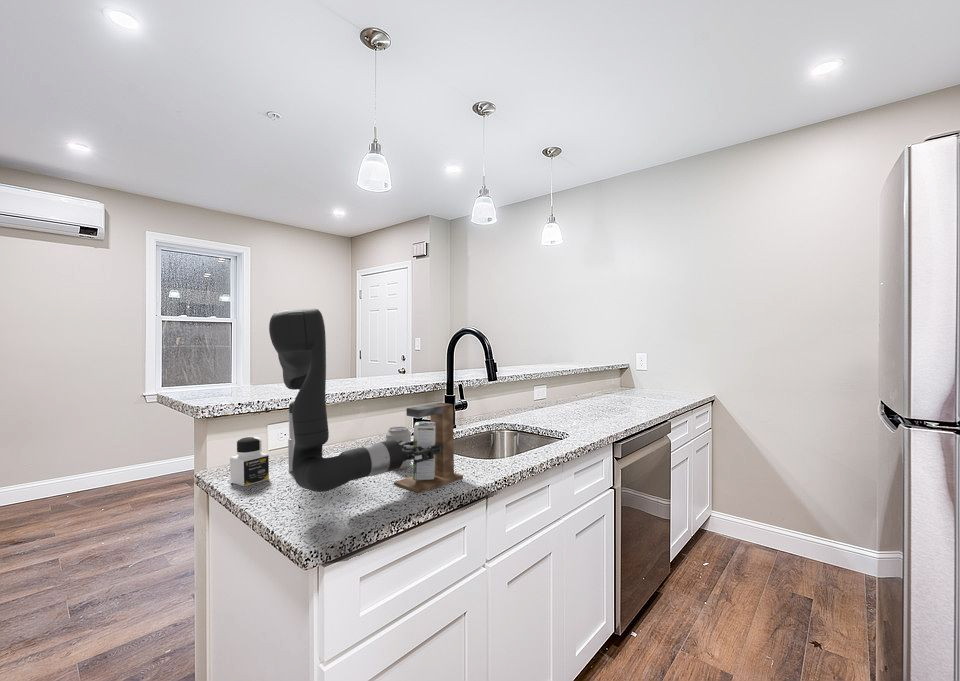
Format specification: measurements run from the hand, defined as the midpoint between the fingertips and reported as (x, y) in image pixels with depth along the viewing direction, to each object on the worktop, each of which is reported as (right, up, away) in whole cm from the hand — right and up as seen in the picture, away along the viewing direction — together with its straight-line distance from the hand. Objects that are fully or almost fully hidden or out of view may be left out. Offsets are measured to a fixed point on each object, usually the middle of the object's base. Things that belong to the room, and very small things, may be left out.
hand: (429, 445), depth 118 cm
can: (-11, -10, +13) cm, 20 cm away
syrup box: (-1, -8, -1) cm, 8 cm away
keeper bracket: (0, -10, 0) cm, 10 cm away
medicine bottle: (-50, -11, +2) cm, 52 cm away
